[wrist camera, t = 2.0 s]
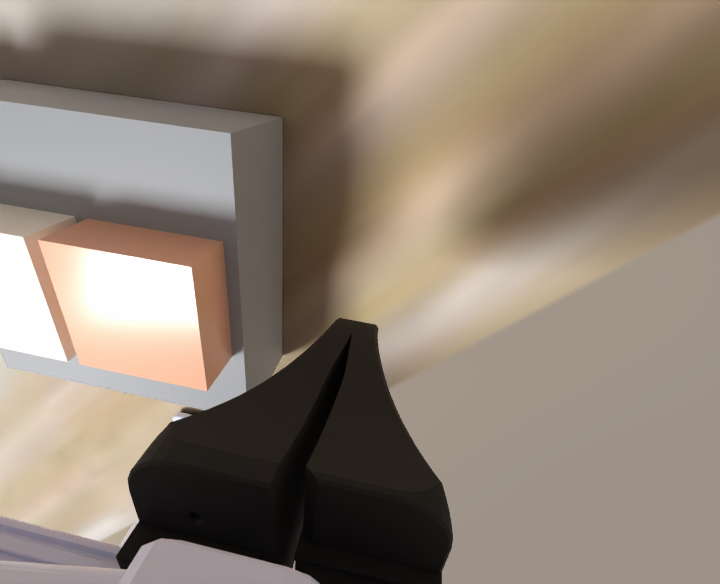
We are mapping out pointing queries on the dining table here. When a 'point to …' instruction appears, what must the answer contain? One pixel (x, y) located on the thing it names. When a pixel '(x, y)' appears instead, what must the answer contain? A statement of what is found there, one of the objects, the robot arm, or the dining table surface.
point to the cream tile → (30, 285)
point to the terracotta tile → (142, 300)
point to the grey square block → (158, 206)
